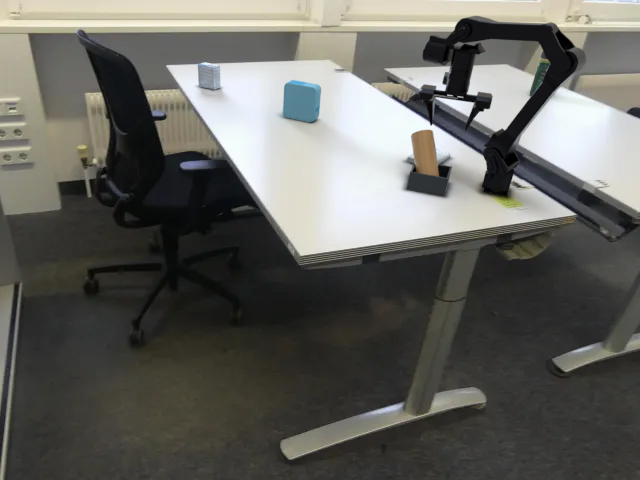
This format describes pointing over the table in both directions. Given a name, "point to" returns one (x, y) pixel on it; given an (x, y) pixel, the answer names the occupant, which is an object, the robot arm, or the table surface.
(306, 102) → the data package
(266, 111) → the table surface
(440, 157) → the hard drive
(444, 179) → the bin
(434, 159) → the cup
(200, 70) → the medicine box
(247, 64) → the table surface
